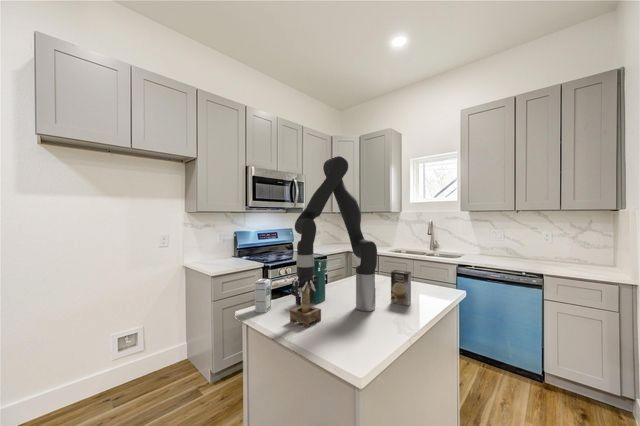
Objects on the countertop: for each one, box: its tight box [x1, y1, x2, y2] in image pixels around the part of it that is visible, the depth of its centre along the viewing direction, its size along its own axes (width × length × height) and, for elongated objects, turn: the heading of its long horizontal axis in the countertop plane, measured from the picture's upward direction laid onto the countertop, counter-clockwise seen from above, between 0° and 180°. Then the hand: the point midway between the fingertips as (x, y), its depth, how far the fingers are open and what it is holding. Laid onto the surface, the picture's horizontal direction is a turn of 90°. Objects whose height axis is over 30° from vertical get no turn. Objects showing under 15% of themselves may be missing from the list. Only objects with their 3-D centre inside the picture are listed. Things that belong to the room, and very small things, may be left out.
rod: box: [301, 284, 311, 313], centre depth 114 cm, size 3×3×16 cm
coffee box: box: [390, 269, 412, 306], centre depth 138 cm, size 9×6×16 cm
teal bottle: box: [309, 258, 328, 304], centre depth 141 cm, size 10×8×22 cm
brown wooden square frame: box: [289, 305, 322, 329], centre depth 114 cm, size 9×9×5 cm
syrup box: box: [254, 278, 272, 313], centre depth 128 cm, size 6×6×14 cm
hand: (305, 302), depth 114 cm, fingers open, 8 cm apart
